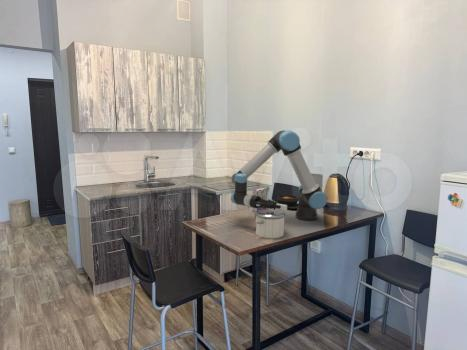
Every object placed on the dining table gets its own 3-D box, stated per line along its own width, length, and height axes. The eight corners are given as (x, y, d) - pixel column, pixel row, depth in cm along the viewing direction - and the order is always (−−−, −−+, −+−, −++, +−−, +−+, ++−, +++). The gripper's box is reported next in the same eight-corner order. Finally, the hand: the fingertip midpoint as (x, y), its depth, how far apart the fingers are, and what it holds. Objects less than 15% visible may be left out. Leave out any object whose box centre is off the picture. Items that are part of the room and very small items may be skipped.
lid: (248, 215, 196) (248, 212, 196) (266, 209, 209) (266, 207, 209) (274, 220, 184) (274, 217, 184) (290, 214, 197) (290, 211, 197)
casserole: (307, 208, 258) (308, 198, 257) (290, 212, 247) (290, 201, 246) (284, 202, 278) (285, 192, 277) (267, 205, 268) (268, 195, 266)
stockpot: (245, 234, 195) (245, 216, 194) (268, 226, 213) (268, 209, 211) (269, 241, 184) (270, 222, 183) (292, 231, 202) (292, 214, 200)
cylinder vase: (322, 204, 270) (323, 174, 267) (320, 208, 259) (321, 176, 255) (306, 203, 275) (307, 173, 271) (303, 206, 263) (305, 175, 260)
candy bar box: (261, 208, 257) (261, 187, 254) (266, 209, 253) (267, 188, 251) (252, 211, 248) (252, 189, 246) (257, 212, 245) (257, 190, 243)
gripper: (259, 205, 209) (292, 212, 194) (246, 209, 200) (279, 216, 184) (259, 193, 208) (292, 199, 193) (246, 196, 198) (280, 203, 183)
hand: (286, 207), depth 189 cm, fingers closed
